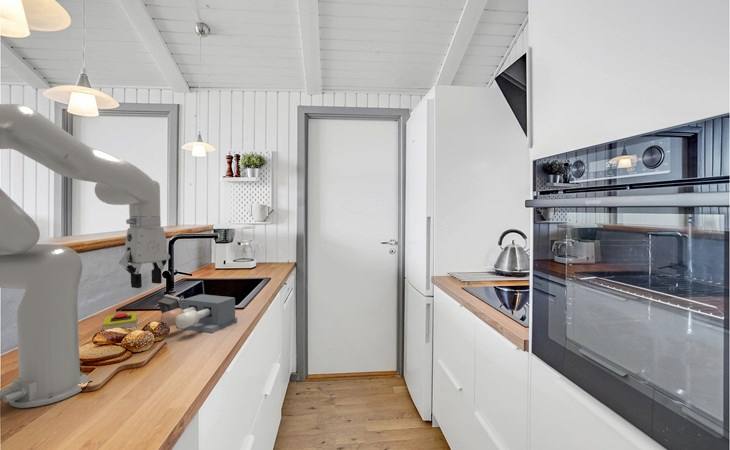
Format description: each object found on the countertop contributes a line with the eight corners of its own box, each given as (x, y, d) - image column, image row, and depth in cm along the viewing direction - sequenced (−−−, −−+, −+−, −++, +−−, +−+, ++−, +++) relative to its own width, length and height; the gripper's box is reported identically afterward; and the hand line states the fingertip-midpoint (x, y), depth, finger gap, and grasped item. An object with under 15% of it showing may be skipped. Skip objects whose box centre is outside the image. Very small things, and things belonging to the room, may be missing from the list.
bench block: (211, 333, 110) (211, 305, 109) (175, 327, 114) (175, 301, 114) (237, 321, 121) (236, 296, 121) (203, 317, 126) (202, 293, 125)
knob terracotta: (171, 327, 105) (171, 313, 105) (160, 325, 106) (160, 311, 106) (200, 316, 116) (200, 303, 116) (190, 315, 117) (190, 302, 117)
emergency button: (101, 322, 108) (106, 310, 121) (101, 336, 108) (106, 323, 121) (136, 317, 113) (138, 307, 126) (136, 330, 113) (138, 318, 126)
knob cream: (186, 329, 103) (186, 315, 103) (175, 328, 104) (175, 313, 104) (215, 318, 114) (214, 305, 114) (204, 317, 115) (204, 304, 115)
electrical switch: (188, 321, 121) (185, 296, 120) (173, 327, 117) (170, 300, 116) (173, 317, 126) (170, 292, 125) (159, 322, 122) (155, 297, 121)
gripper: (125, 224, 90) (127, 292, 90) (180, 222, 106) (181, 280, 106) (105, 223, 92) (107, 290, 93) (162, 222, 108) (163, 279, 109)
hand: (146, 284), depth 100 cm, fingers open, 5 cm apart
